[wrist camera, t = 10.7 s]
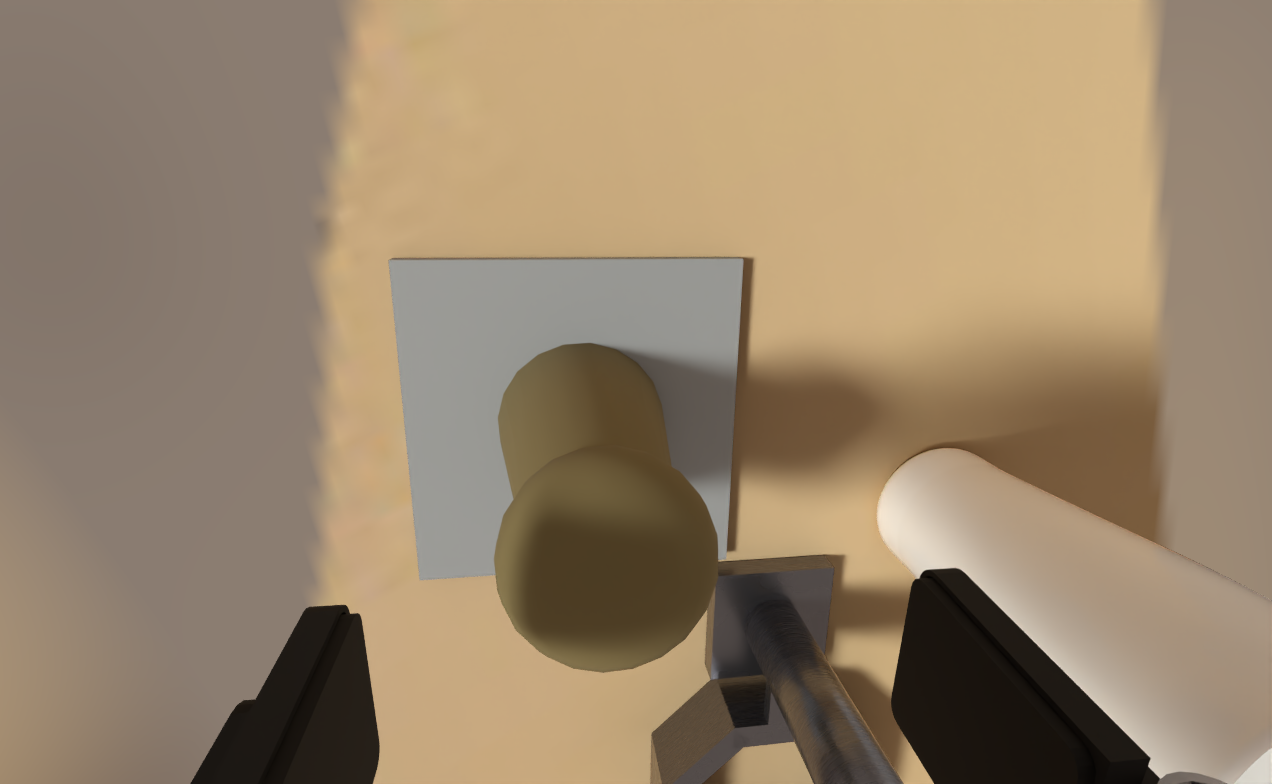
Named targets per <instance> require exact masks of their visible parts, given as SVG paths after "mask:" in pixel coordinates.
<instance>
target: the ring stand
mask: <svg viewBox="0 0 1272 784" xmlns="http://www.w3.org/2000/svg"><path fill="white" fill-rule="evenodd" d="M833 575H834V567H833V565H832V564H831V563H830V562H829V560H828V559H827V558H826V557H825V555H818V556H804V557H789V558H775V559H760V560H746V561H731V562H718V580H717V583H716V586H715V589H714V592H713V594H712V597H711V600H710V603H709V606H708V612H707V632H706V652H705V665H706V668H707V671H708V674H709V676H710V679H711V680H710V681H709V682H708V683H707V684H706V685H705V686H704V687H703V688H702V689H700V690H699V691H698V692H697V693H696V694H695V695H694V696H693V697H692V698H690V699H689V700H688V701H687V702H686V703H685V704H684V705H683V706H682V707H681V708H679V709H678V710H677V711H676V712H675V713H674V714H673V715H672V716H671V717H669V718H668V719H667V720H666V721H665V722H664V723H663V724H662V725H661V726H660V727H658V728H657V729H656V730H655V731H654V732H653V733H652V740H651V784H702V783H703V782H705V781H706V780H707V779H708V778H709V777H710V776H711V775H713V774H714V773H715V772H716V771H717V770H718V769H719V768H720V767H722V766H723V765H724V764H725V763H726V762H727V761H728V760H730V759H731V758H732V757H733V756H734V755H735V754H736V753H737V752H739V751H740V750H741V749H742V748H743V747H750V746H759V745H768V744H777V743H786V742H795V744H796V746H797V748H798V750H799V752H800V755H801V757H802V759H803V761H804V763H805V765H806V767H807V770H808V772H809V774H810V776H811V778H812V780H813V782H814V784H903V782H902V781H901V779H900V777H899V776H898V774H897V772H896V771H895V769H894V768H893V766H892V764H891V763H890V761H889V759H888V758H887V756H886V755H885V753H884V751H883V750H882V748H881V746H880V745H879V743H878V742H877V740H876V738H875V737H874V735H873V733H872V732H871V730H870V729H869V727H868V725H867V724H866V722H865V720H864V719H863V717H862V716H861V714H860V712H859V711H858V709H857V707H856V706H855V704H854V703H853V701H852V699H851V698H850V696H849V694H848V693H847V691H846V690H845V688H844V686H843V685H842V683H841V681H840V680H839V678H838V677H837V675H836V673H835V672H834V670H833V668H832V667H831V665H830V664H829V662H828V660H827V659H826V657H825V656H824V655H825V646H826V637H827V629H828V620H829V611H830V602H831V593H832V584H833Z"/></svg>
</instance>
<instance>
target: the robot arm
mask: <svg viewBox="0 0 1272 784" xmlns="http://www.w3.org/2000/svg"><path fill="white" fill-rule="evenodd" d="M891 706H892V711H893V715H894V718H895V720H896V722H897V724H898V725H899V727H900V729H901V730H902V732H903V734H904V735H905V737H906V738H907V740H908V742H909V743H910V745H911V747H912V748H913V750H914V751H915V753H916V755H917V756H918V758H919V760H920V761H921V763H922V764H923V766H924V768H925V769H926V771H927V773H928V774H929V776H930V777H931V779H932V781H933V782H934V784H1227V783H1225V782H1223V781H1220V780H1218V779H1215V778H1212V777H1209V776H1205V775H1202V774H1198V773H1191V772H1180V771H1179V772H1175V773H1170V774H1166V775H1165V776H1164V777H1163V778H1161V779H1160V778H1159V777H1158V776H1157V775H1156V774H1155V773H1154V772H1153V771H1152V770H1151V769H1150V768H1149V767H1148V765H1149V762H1150V759H1151V758H1150V757H1149V756H1148V755H1147V754H1146V753H1145V752H1144V751H1143V750H1142V749H1141V748H1140V747H1139V746H1138V745H1137V744H1136V743H1135V742H1134V741H1133V740H1132V739H1131V738H1130V737H1129V736H1128V735H1127V734H1126V733H1125V732H1124V731H1123V730H1122V729H1121V728H1120V727H1119V726H1118V725H1117V724H1116V723H1115V722H1114V721H1113V720H1112V719H1111V718H1110V717H1109V716H1108V715H1107V714H1106V713H1105V712H1104V711H1103V710H1102V709H1101V708H1100V707H1099V706H1098V705H1097V704H1096V703H1095V702H1094V701H1093V700H1092V699H1091V698H1090V697H1089V696H1088V695H1087V694H1086V693H1085V692H1084V691H1083V690H1082V689H1081V688H1080V687H1079V686H1078V685H1077V684H1076V683H1075V682H1074V681H1073V680H1072V679H1071V678H1070V677H1069V676H1068V675H1067V674H1066V673H1065V672H1064V671H1063V670H1062V669H1061V668H1060V667H1059V666H1058V665H1057V664H1056V663H1055V662H1054V661H1053V660H1052V659H1051V658H1050V657H1049V656H1048V655H1047V654H1046V653H1045V652H1044V651H1043V650H1042V649H1041V648H1040V647H1039V646H1038V645H1037V644H1036V643H1035V642H1034V641H1033V640H1032V639H1031V638H1030V637H1029V636H1028V635H1027V634H1026V633H1025V632H1024V631H1023V630H1022V629H1021V628H1020V627H1019V626H1018V625H1017V624H1016V623H1015V622H1014V621H1013V620H1012V619H1011V618H1010V617H1009V616H1008V615H1007V614H1006V613H1005V612H1004V611H1003V610H1002V609H1001V608H1000V607H999V606H998V605H997V604H996V603H995V602H994V601H993V600H992V599H991V598H990V597H989V596H988V595H987V594H986V593H985V592H984V591H983V590H982V589H981V588H980V587H979V586H978V585H977V584H976V583H975V582H974V581H973V580H972V579H971V578H970V577H969V576H968V575H967V574H966V573H965V572H963V571H962V570H961V569H958V568H946V569H929V570H925V571H923V572H922V574H921V575H920V578H919V579H915V580H914V581H913V583H912V586H911V592H910V597H909V603H908V608H907V614H906V619H905V625H904V631H903V636H902V642H901V647H900V653H899V658H898V664H897V669H896V675H895V681H894V686H893V692H892V697H891ZM378 760H379V736H378V729H377V723H376V716H375V709H374V702H373V695H372V688H371V681H370V674H369V667H368V660H367V654H366V647H365V640H364V633H363V626H362V620H361V616H360V614H358V613H357V614H350V612H349V609H348V607H347V606H346V605H333V606H317V607H308V608H306V609H305V611H304V612H303V614H302V616H301V618H300V619H299V621H298V623H297V625H296V627H295V628H294V630H293V632H292V634H291V636H290V638H289V639H288V641H287V643H286V645H285V647H284V649H283V650H282V652H281V654H280V656H279V658H278V660H277V661H276V663H275V665H274V667H273V669H272V671H271V673H270V674H269V676H268V678H267V680H266V681H265V683H264V685H263V687H262V689H261V691H260V693H259V694H258V696H257V698H256V700H244V701H242V702H241V703H239V704H238V705H237V706H236V707H235V709H234V710H233V712H232V713H231V714H230V716H229V718H228V720H227V722H226V723H225V725H224V727H223V728H222V730H221V732H220V734H219V735H218V737H217V739H216V741H215V742H214V744H213V746H212V748H211V749H210V751H209V753H208V754H207V756H206V758H205V760H204V761H203V763H202V765H201V766H200V768H199V770H198V772H197V773H196V775H195V777H194V779H193V780H192V782H191V784H373V781H374V777H375V774H376V770H377V766H378Z"/></svg>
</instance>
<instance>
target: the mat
mask: <svg viewBox="0 0 1272 784" xmlns="http://www.w3.org/2000/svg"><path fill="white" fill-rule="evenodd" d="M389 269H390V280H391V290H392V300H393V310H394V321H395V331H396V341H397V351H398V362H399V372H400V382H401V393H402V403H403V413H404V423H405V434H406V444H407V454H408V464H409V475H410V485H411V495H412V505H413V516H414V526H415V536H416V547H417V557H418V567H419V577H420V580H432V579H446V578H461V577H475V576H490V575H496V574H495V566H494V554H495V547H496V542H497V538H498V534H499V530H500V526H501V522H502V518H503V515H504V513H505V512H506V510H507V509H508V507H509V506H510V504H511V503H512V501H513V495H512V491H511V487H510V482H509V478H508V473H507V469H506V465H505V460H504V456H503V452H502V447H501V443H500V434H499V425H498V415H499V410H500V406H501V402H502V398H503V394H504V392H505V390H506V389H507V387H508V386H509V384H510V382H511V381H512V379H513V378H514V376H515V374H516V373H517V371H518V370H520V369H521V368H522V367H523V366H525V365H526V364H527V363H528V362H530V361H531V360H532V359H533V358H534V357H536V356H537V355H538V354H541V353H543V352H546V351H548V350H551V349H553V348H556V347H558V346H561V345H565V344H580V343H593V344H597V345H601V346H605V347H609V348H613V349H616V350H618V351H620V352H621V353H623V354H624V355H626V356H628V357H629V358H631V359H632V360H634V361H636V362H637V363H638V364H639V365H640V366H641V368H642V369H643V370H644V371H645V372H646V374H647V375H648V376H649V377H650V378H651V380H652V381H653V383H654V385H655V388H656V391H657V393H658V396H659V399H660V401H661V404H662V409H663V416H664V422H665V428H666V434H667V440H668V447H669V453H670V459H671V465H672V467H673V468H675V469H677V470H678V471H680V472H681V473H682V474H683V475H684V477H685V478H686V479H687V480H688V481H689V482H690V484H691V485H692V486H693V487H694V488H695V489H696V491H697V492H698V493H699V494H700V495H701V497H702V499H703V501H704V502H705V504H706V506H707V508H708V511H709V514H710V516H711V519H712V522H713V524H714V527H715V530H716V532H717V535H718V560H722V559H726V553H727V536H728V519H729V501H730V484H731V467H732V449H733V432H734V415H735V397H736V380H737V363H738V345H739V328H740V311H741V293H742V276H743V259H742V258H739V257H647V258H392V259H390V260H389Z"/></svg>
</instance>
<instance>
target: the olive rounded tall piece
mask: <svg viewBox="0 0 1272 784" xmlns="http://www.w3.org/2000/svg"><path fill="white" fill-rule="evenodd" d="M498 425H499V434H500V443H501V447H502V452H503V456H504V460H505V465H506V469H507V473H508V478H509V482H510V487H511V491H512V495H513V501H512V503H511V504H510V506H509V507H508V509H507V510H506V512H505V513H504V515H503V518H502V522H501V526H500V530H499V534H498V538H497V542H496V547H495V554H494V566H495V574H496V583H497V591H498V594H499V597H500V599H501V602H502V605H503V606H504V608H505V610H506V612H507V614H508V616H509V618H510V620H511V622H512V624H513V626H514V627H515V629H516V631H517V632H518V633H519V634H521V635H522V636H523V637H524V638H525V639H526V640H527V641H528V642H529V643H530V644H531V645H533V646H534V647H535V648H536V649H537V650H538V651H539V652H541V653H542V654H544V655H545V656H547V657H549V658H551V659H553V660H556V661H558V662H560V663H562V664H565V665H567V666H569V667H571V668H573V669H580V670H588V671H595V672H603V673H604V672H611V671H619V670H627V669H634V668H636V667H638V666H641V665H643V664H646V663H648V662H651V661H653V660H656V659H658V658H661V657H662V656H664V655H665V654H666V653H668V652H669V651H670V650H671V649H673V648H674V647H675V646H677V645H678V644H679V643H681V642H682V641H683V640H685V639H686V637H687V636H688V635H689V633H690V632H691V631H692V629H693V628H694V627H695V625H696V624H697V623H698V621H699V620H700V619H701V617H702V616H703V614H704V613H705V611H706V610H707V608H708V606H709V603H710V600H711V597H712V594H713V592H714V589H715V586H716V583H717V580H718V535H717V532H716V530H715V527H714V524H713V522H712V519H711V516H710V514H709V511H708V508H707V506H706V504H705V502H704V501H703V499H702V497H701V495H700V494H699V493H698V492H697V491H696V489H695V488H694V487H693V486H692V485H691V484H690V482H689V481H688V480H687V479H686V478H685V477H684V475H683V474H682V473H681V472H680V471H678V470H677V469H675V468H673V467H672V465H671V459H670V453H669V447H668V440H667V434H666V428H665V422H664V416H663V409H662V404H661V401H660V399H659V396H658V393H657V391H656V388H655V385H654V383H653V381H652V380H651V378H650V377H649V376H648V375H647V374H646V372H645V371H644V370H643V369H642V368H641V366H640V365H639V364H638V363H637V362H636V361H634V360H632V359H631V358H629V357H628V356H626V355H624V354H623V353H621V352H620V351H618V350H616V349H613V348H609V347H605V346H601V345H597V344H593V343H580V344H565V345H561V346H558V347H556V348H553V349H551V350H548V351H546V352H543V353H541V354H538V355H537V356H536V357H534V358H533V359H532V360H531V361H530V362H528V363H527V364H526V365H525V366H523V367H522V368H521V369H520V370H518V371H517V373H516V374H515V376H514V378H513V379H512V381H511V382H510V384H509V386H508V387H507V389H506V390H505V392H504V394H503V398H502V402H501V406H500V410H499V415H498Z"/></svg>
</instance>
